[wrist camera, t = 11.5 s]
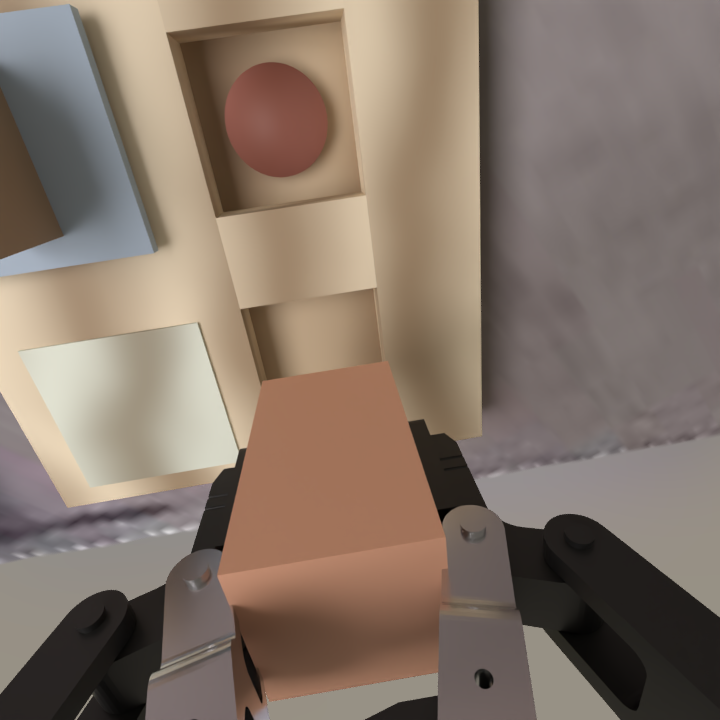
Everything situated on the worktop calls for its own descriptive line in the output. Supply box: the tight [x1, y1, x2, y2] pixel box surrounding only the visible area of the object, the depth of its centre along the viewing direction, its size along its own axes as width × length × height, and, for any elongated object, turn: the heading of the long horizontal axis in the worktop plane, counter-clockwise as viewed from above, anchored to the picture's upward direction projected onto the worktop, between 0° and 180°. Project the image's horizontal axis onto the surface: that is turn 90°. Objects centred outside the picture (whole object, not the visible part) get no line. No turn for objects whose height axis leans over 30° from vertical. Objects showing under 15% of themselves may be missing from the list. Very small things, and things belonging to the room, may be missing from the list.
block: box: [217, 361, 448, 702], centre depth 12 cm, size 4×4×7 cm
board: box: [0, 0, 482, 508], centre depth 18 cm, size 20×19×2 cm
